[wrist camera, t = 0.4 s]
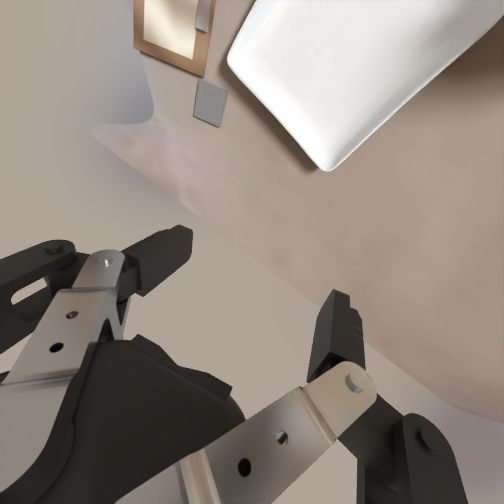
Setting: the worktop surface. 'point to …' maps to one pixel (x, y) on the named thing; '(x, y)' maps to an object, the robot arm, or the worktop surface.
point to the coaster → (210, 103)
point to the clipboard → (175, 31)
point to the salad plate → (349, 62)
